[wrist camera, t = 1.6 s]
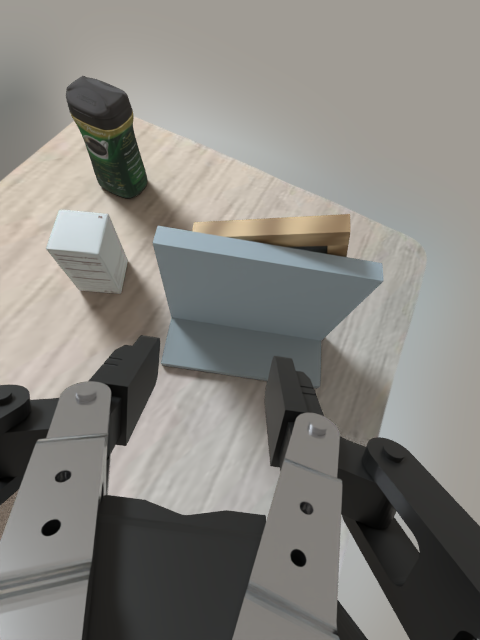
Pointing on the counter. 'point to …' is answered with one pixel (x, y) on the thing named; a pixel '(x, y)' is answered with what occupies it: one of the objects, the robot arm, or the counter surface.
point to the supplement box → (88, 251)
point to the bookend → (253, 302)
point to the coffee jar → (108, 135)
